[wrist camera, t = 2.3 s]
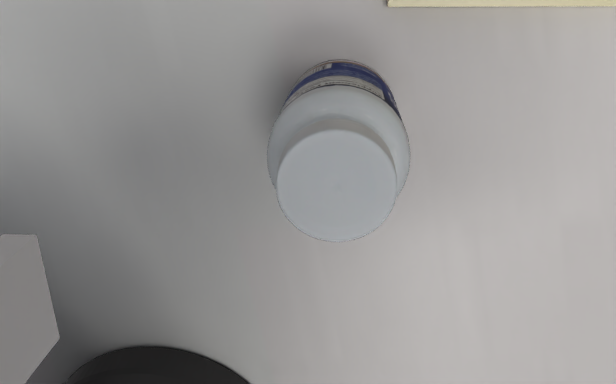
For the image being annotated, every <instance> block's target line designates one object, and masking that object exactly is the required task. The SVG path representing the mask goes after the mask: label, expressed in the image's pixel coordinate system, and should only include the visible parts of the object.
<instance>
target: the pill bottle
mask: <svg viewBox="0 0 616 384" xmlns="http://www.w3.org/2000/svg"><path fill="white" fill-rule="evenodd" d="M267 164H268V170H269V174H270V178H271V180H272V183H273V185H274V187H275V189H276V194H277V198H278V202H279V204H280V207H281V209H282V211H283V213H284V214H285V216H286V217H287V218H288V220H289V221H290V222H291V223H292V224H293V225H294V226H295V227H296V228H298V229H299V230H300V231H302V232H303V233H305V234H307V235H309V236H311V237H314V238H316V239H320V240H324V241H330V242H344V241H350V240H355V239H358V238H360V237H363V236H365V235H367V234H369V233H370V232H372V231H374V230H375V229H376V228H378V227H379V226H380V225H381V224H382V223H383V222H384V220H385V219H386V218H387V216H388V215H389V213H390V212H391V210H392V208H393V206H394V203H395V200H396V197H397V196H398V194H399V193H400V191H401V190H402V188H403V186H404V184H405V181H406V178H407V175H408V172H409V166H410V147H409V140H408V135H407V133H406V130H405V127H404V125H403V122H402V119H401V116H400V113H399V111H398V108H397V106H396V102H395V100H394V97H393V95H392V92H391V91H390V89H389V87H388V85H387V84H386V83H385V81H384V80H383V79H382V78H381V77H380V76H379V75H378V74H377V73H376V72H375V71H373V70H372V69H370V68H369V67H367V66H365V65H363V64H360V63H357V62H353V61H348V60H334V61H328V62H324V63H321V64H319V65H317V66H315V67H313V68H311V69H310V70H308V71H307V72H306V73H305V74H304V75H302V76H301V77H300V79H299V80H298V81H297V82H296V83H295V85H294V86H293V88H292V89H291V91H290V92H289V94H288V96H287V99H286V101H285V103H284V105H283V107H282V109H281V111H280V114H279V116H278V118H277V120H276V121H275V123H274V125H273V128H272V132H271V135H270V138H269V143H268V150H267Z"/></svg>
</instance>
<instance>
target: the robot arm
mask: <svg viewBox="0 0 616 384" xmlns="http://www.w3.org/2000/svg"><path fill="white" fill-rule="evenodd" d="M59 339H60V336H59V331H58V327H57V323H56V318H55V314H54V309H53V305H52V300H51V296H50V291H49V287H48V282H47V278H46V274H45V269H44V265H43V260H42V256H41V251H40V247H39V242H38V238H37V235H23V234H2V235H1V236H0V384H25V383H26V381H27V380H28V379H29V377H30V376H31V375H32V374H33V372H34V371H35V370H36V369H37V367H38V366H39V365H40V363H41V362H42V361H43V360H44V358H45V357H46V356H47V354H48V353H49V352H50V351H51V349H52V348H53V347H54V345H55V344H56V343H57V342H58V340H59ZM65 384H248V383H246V382H245V381H244V380H243V379H241V378H240V377H239V376H237V375H236V374H234V373H233V372H231V371H230V370H228V369H226V368H225V367H223V366H221V365H219V364H217V363H215V362H213V361H211V360H208V359H206V358H203V357H200V356H197V355H194V354H191V353H187V352H183V351H179V350H174V349H167V348H156V347H141V348H130V349H124V350H118V351H115V352H111V353H108V354H105V355H102V356H100V357H98V358H95V359H94V360H92V361H90V362H88V363H87V364H85V365H83V366H82V367H81V368H79V369H78V370H77V371H76V372H75V373H74V374H73V375H72V376H71V377H70V378H69V379H68V380H67V382H66V383H65Z"/></svg>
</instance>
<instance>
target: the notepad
mask: <svg viewBox="0 0 616 384" xmlns="http://www.w3.org/2000/svg"><path fill="white" fill-rule="evenodd" d="M387 6H388V7H526V6H616V0H387Z"/></svg>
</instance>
